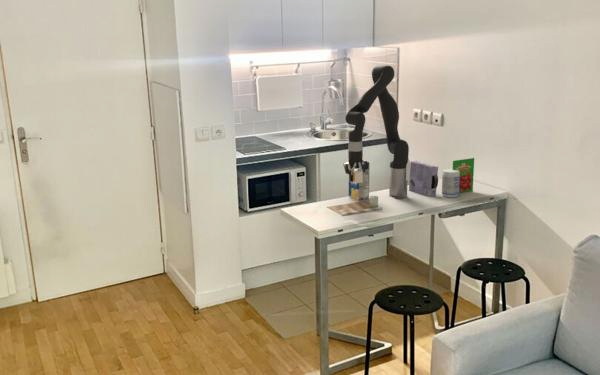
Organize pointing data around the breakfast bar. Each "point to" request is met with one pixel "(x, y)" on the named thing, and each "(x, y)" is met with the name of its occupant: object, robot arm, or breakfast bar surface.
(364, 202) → the board
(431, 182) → the cake pan box
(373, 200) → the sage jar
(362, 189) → the beverage box
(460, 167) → the tomato puree packet
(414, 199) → the breakfast bar surface
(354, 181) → the cream block
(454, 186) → the supplement tub
